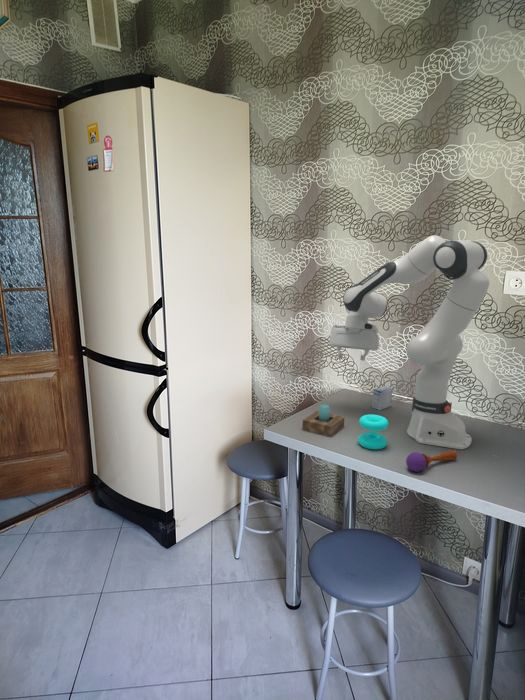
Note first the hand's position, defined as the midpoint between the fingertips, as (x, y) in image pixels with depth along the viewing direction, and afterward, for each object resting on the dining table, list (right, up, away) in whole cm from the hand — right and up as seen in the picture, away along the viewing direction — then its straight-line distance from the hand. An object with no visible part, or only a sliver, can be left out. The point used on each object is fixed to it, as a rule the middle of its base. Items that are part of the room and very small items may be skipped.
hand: (351, 359), depth 188 cm
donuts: (+3, -30, -24) cm, 39 cm away
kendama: (+18, -34, -39) cm, 55 cm away
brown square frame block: (-13, -27, -10) cm, 31 cm away
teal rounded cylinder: (-13, -27, -10) cm, 31 cm away
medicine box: (+16, -22, +14) cm, 30 cm away
